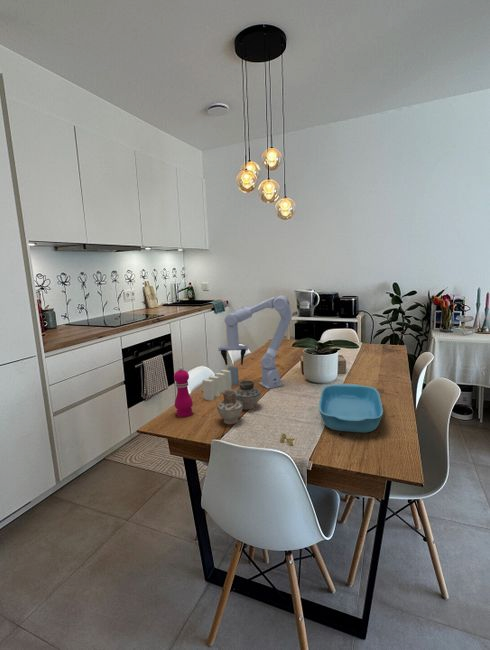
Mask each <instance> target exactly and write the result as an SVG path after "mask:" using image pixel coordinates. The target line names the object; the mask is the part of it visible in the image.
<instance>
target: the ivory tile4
mask: <svg viewBox="0 0 490 650" xmlns="http://www.w3.org/2000/svg"><path fill="white" fill-rule="evenodd" d="M208 379H209V380H213V383H214V398H220V397H221V393H220V378H219V377H216V376H215V375H210V376H208Z"/></svg>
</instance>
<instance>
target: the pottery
mask: <svg viewBox="0 0 490 650" xmlns="http://www.w3.org/2000/svg"><path fill="white" fill-rule="evenodd" d="M238 387H239V388H237V389H231V390H227V389H226V390H224V391H223V392H222V393H221V394H222V395H223V400H221V401H220V402H219V403H218V404H217V405H216V409H217V411H218V414H219V416H220V417H221V418H223V423H224V424H226V425H236V424H237V423H238V422H239V417H240V416H241V414H242V412H243V410H253V409H254V408H255V405H256V404H257V403H258V402H259V400H260V398H261V394H262V393H261V391H260V390H259V389H258V388H257V387H255V382H254V381H253V380H251V379H246V380H245V379H244V380H241V381H239V385H238Z"/></svg>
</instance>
